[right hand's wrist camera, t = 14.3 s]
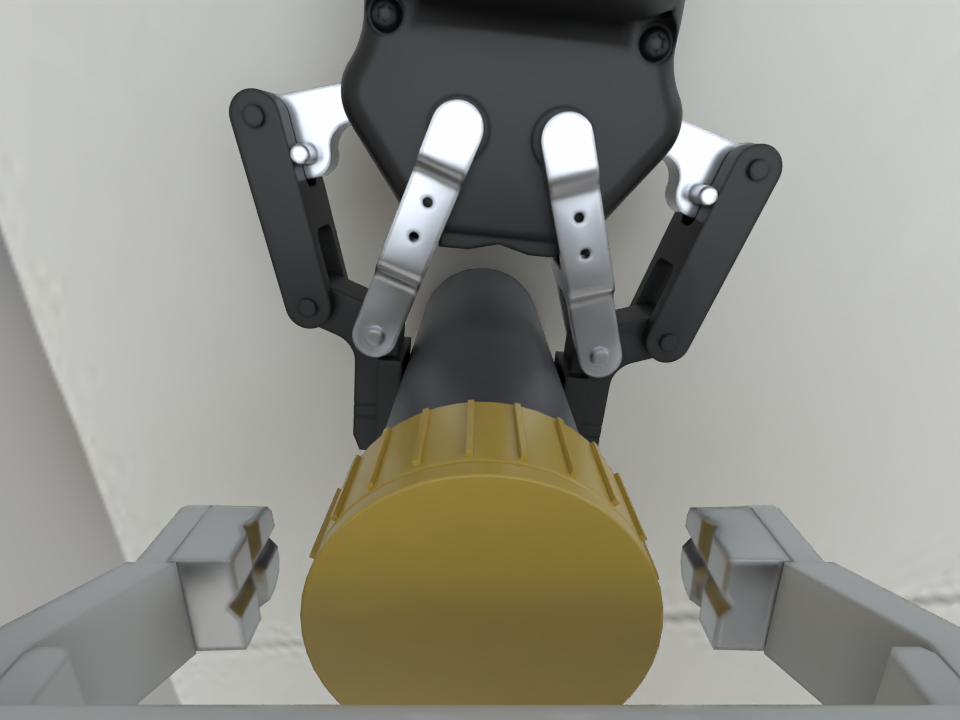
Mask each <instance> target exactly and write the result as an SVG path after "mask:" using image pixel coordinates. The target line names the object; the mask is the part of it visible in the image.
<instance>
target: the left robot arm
mask: <svg viewBox="0 0 960 720" xmlns="http://www.w3.org/2000/svg"><path fill="white" fill-rule="evenodd" d="M684 4H685V0H364V21H363V28H362V32H361V36H360V39H359V42H358V45H357V47H356V50H355V52H354V54H353V56H352V57H351V59H350V61H349V62H348V64H347V66H346V68H345V70H344V73H343V76H342V81H341V83H339V84H333V85H328V86H323V87H317V88H312V89H307V90H302V91H296V92H291V93H286V94H280V95H277V94H273V93H270V92H266V91H262V90H259V89H254V88H248V89H244V90H242V91H240V92H238V93H237V94H236V95H235V96H234V98H233V99H232V101H231V103H230V107H229V117H230V121H231V124H232V128H233V131H234V135H235V138H236V141H237V145H238V148H239V152H240V155H241V158H242V162H243V165H244V169H245V172H246V175H247V179H248V182H249V186H250V189H251V192H252V196H253V199H254V203H255V206H256V209H257V213H258V216H259V220H260V223H261V226H262V230H263V233H264V237H265V240H266V243H267V247H268V250H269V254H270V257H271V260H272V264H273V267H274V271H275V274H276V277H277V281H278V284H279V288H280V291H281V294H282V298H283V301H284V305H285V308H286V311H287V314H288V316H289V317H290V319H291V320H292V321H293V322H294V323H295V324H297V325H299V326H301V327H303V328H309V329H311V328H317V327H320V328H322V329H325V330H327V331H329V332H332V333H334V334H336V335H338V336H340V337H342V338H343V339H344V340H346V341H347V342H348V344H349V345H350V346H351V348H352V350H353V352H354V356H355V388H354V428H353V434H354V437H355V439H356V442H357V444H358V447H359V449H361V450H367V449H368V447H369V446H370V445H371V444H373V443H374V442H375V441H376V440H377V439H378V438H379V437H381V436H382V433H383V430H384V429H385V428H386V425H387V422H388V419H389V416H390V413H391V410H392V408H393V405H394V402H395V399H396V396H397V393H398V390H399V387H400V384H401V381H402V378H403V375H404V372H405V369H406V366H407V363H408V360H409V357H410V349H411V337H404V330H405V321H406V319H407V316H408V314H409V311H410V309H411V307H412V304H413V302H414V300H415V297H416V295H417V292H418V290H419V288H420V285H421V283H422V281H423V278H424V276H425V273H426V271H427V269H428V266H429V264H430V262H431V259H432V257H433V255H434V252H435V250H436V247H437V245H438V243H439V246H440V247H451V248H461V249H472V248H478V247H484V246H490V245H496V244H499V245H503V246H505V247H508V248H511V249H513V250H516V251H519V252H521V253H524V254H526V255H532V256H543V257H550V259H551V264H552V269H553V273H554V277H555V281H556V284H557V289H558V294H559V299H560V305H561V310H562V315H563V320H564V326H565V331H566V342H565V348H564V352H558V351H556V354H555V361H554V364H555V367H556V370H557V372H558V375H559V378H560V381H561V384H562V387H563V390H564V393H565V396H566V398H567V401H568V404H569V407H570V410H571V413H572V416H573V419H574V421H575V424H576V427H577V430H578V433H579V434H580V435H581V436H583V437H584V438H585V439H586V440H588V441H589V442H590V443H592V442H593V441H594V442H595V443H596V444H597V446H598V444H599V437H600V433H601V425H602V423H603V417H604V412H605V407H606V402H607V396H608V391H609V386H610V382H611V379H612V377H613V376H614V374H615V373H616V372H617V371H618V370H619V369H620V368H622V367H623V366H625V365H627V364H630V363H633V362H638V361H642V360H646V359H650V358H654V359H655V360H657V361H659V362H665V363H667V362H673V361H676V360H678V359H680V358H681V357H682V356H683V355H684V354H685V353H686V352H687V350H688V349H689V347H690V345H691V343H692V341H693V339H694V337H695V336H696V334H697V332H698V330H699V328H700V326H701V324H702V322H703V320H704V319H705V317H706V315H707V313H708V311H709V309H710V307H711V305H712V304H713V302H714V300H715V298H716V296H717V294H718V292H719V290H720V289H721V287H722V285H723V283H724V281H725V279H726V277H727V275H728V274H729V272H730V270H731V268H732V266H733V264H734V262H735V260H736V258H737V257H738V255H739V253H740V251H741V249H742V247H743V245H744V243H745V242H746V240H747V238H748V236H749V234H750V232H751V230H752V228H753V227H754V225H755V223H756V221H757V219H758V217H759V215H760V213H761V211H762V210H763V208H764V206H765V204H766V202H767V200H768V198H769V196H770V195H771V193H772V191H773V189H774V187H775V185H776V183H777V181H778V180H779V177H780V175H781V172H782V159H781V156H780V154H779V153H778V151H777V150H776V149H775V148H774V147H772V146H770V145H767V144H754V143H736V142H733V141H731V140H729V139H726V138H724V137H722V136H719V135H717V134H715V133H712V132H710V131H708V130H705V129H703V128H701V127H698V126H696V125H694V124H691V123H689V122H687V121H684V120H682V105H681V100H680V97H679V94H678V91H677V88H676V83H675V77H674V53H675V47H676V42H677V38H678V33H679V29H680V24H681V19H682V14H683V9H684ZM351 125H352V127H353V128H354V130H355V132H356V133H357V135H358V136H359V138H360V140H361V141H362V143H363V145H364V146H365V148H366V149H367V151H368V153H369V154H370V156H371V158H372V159H373V161H374V163H375V164H376V166H377V167H378V169H379V171H380V172H381V174H382V176H383V177H384V179H385V180H386V182H387V184H388V185H389V187H390V189H391V190H392V192H393V193H394V195H395V197H396V198H397V200H398V202H399V203H400V205H399V207H398V210H397V213H396V215H395V218H394V220H393V223H392V225H391V228H390V231H389V233H388V236H387V238H386V241H385V243H384V246H383V249H382V251H381V254H380V256H379V259H378V262H377V265H376V269H375V274H374V276H373V279H372V282H371V284H370V287H369V289H368V288H366V287H364V286H362V285H360V284H357V283H355V282H353V281H351V280H349V279H348V276H347V272H346V268H345V264H344V260H343V256H342V252H341V248H340V244H339V240H338V236H337V232H336V228H335V225H334V221H333V217H332V213H331V209H330V205H329V201H328V197H327V193H326V189H325V185H324V181H323V176H326V175H328V174H330V173H331V172H333V170H334V169H335V168H336V166H337V164H338V160H339V150H338V143H339V139H340V136H341V134H342V133H343V132H344V130H345V129H346V128H348V127H349V126H351ZM662 159H663V161H664V162H665V163H666V165H667V168H668V171H669V179H668V184H667V187H666V191H665V197H666V201H667V204H668V205H669V207H670V208H671V209H672V210H673V211H675V213H674V215H673V217H672V219H671V221H670V224H669V226H668V228H667V230H666V232H665V234H664V236H663V238H662V240H661V242H660V244H659V246H658V248H657V251H656V253H655V255H654V257H653V259H652V261H651V263H650V265H649V267H648V269H647V271H646V273H645V275H644V278H643V280H642V282H641V284H640V286H639V288H638V290H637V292H636V294H635V296H634V298H633V300H632V302H631V304H630V307H626V308H622V309H618V310H615V305H614V298H613V293H614V290H615V284H614V276H613V270H612V263H611V257H610V250H609V244H608V237H607V231H606V224H605V220H606V219H607V218H608V217H609V215H610V214H611V213H612V212H613V211H614V210H615V209H616V208H617V207H618V206H619V205H620V204H621V203H622V202H623V201H624V199H625V198H626V197H627V196H628V195H629V194H630V193H631V192H632V191H633V190H634V189H635V188H636V187H637V186H638V185H639V183H640V182H641V181H642V180H643V179H644V178H645V177H646V176H647V175H648V174H649V173H650V172H651V171H652V170H653V169H654V167H655V166H656V165H657V164H658V163H659V162H660V161H661V160H662Z"/></svg>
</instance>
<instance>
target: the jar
mask: <svg viewBox="0 0 960 720" xmlns="http://www.w3.org/2000/svg"><path fill="white" fill-rule="evenodd" d="M468 400H474V402H497V403H504V404H510V405H514V403H519V404H521V407H524V408H528V409H531V410H535V411H538V412H540V413H543V414H545V415H548V416H550V417H552V418H555V419H557V417H559V418H561V419H563V421H564V424H565V425H567V426H569V427H570V428H572V429H574V430H575V431H576V432H577V433H578V430H577V427H576V424H575V421H574V419H573V416H572V413H571V410H570V407H569V404H568V401H567V398H566V396H565V393H564V390H563V387H562V384H561V381H560V378H559V375H558V372H557V370H556V367H555V364H554V361H553V358H552V355H551V352H550V349H549V346H548V344H547V341H546V338H545V335H544V332H543V329H542V326H541V323H540V320H539V318H538V315H537V312H536V309H535V306H534V303H533V301H532V299H531V297H530V295H529V294H528V292H527V291H526V290H525V288H524V287H523V286H522V285H521V284H520V283H519V282H517V281H516V280H515V279H513V278H512V277H510V276H508V275H506V274H504V273H502V272H499V271H496V270H491V269H471V270H466V271H463V272H460V273H457V274H455V275H453V276H451V277H450V278H448V279H447V280H446V281H444V282H443V283H442V284H441V285H440V286H439V287H438V288H437V289H436V290H435V292H434V293H433V295H432V296H431V298H430V300H429V302H428V305H427V307H426V310H425V313H424V316H423V319H422V322H421V325H420V328H419V331H418V334H417V337H416V340H415V343H414V346H413V349H412V352H411V355H410V357H409V360H408V363H407V366H406V369H405V372H404V375H403V378H402V381H401V384H400V387H399V390H398V393H397V396H396V399H395V402H394V405H393V408H392V410H391V413H390V416H389V419H388V422H387V425H386V428H387V427H389V428H390V429H392V428H393V427H395V426H396V425H398V424H399V423H401V422H403V421H405V420H407V419H409V418H411V417H413V416H415V415H417V414H420V413H422V411H423V409H426V408H429V410H432V409H435V408H438V407H443V406H448V405H452V404H458V403H468Z"/></svg>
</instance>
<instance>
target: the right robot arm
mask: <svg viewBox="0 0 960 720" xmlns="http://www.w3.org/2000/svg"><path fill="white" fill-rule="evenodd" d="M274 527H275V525H274V520H273V515H272V511H271V510H270V509H269V508H268V507H262V506H212V505H188V506H185V507H182V508H181V509H180V510H179V511H178V512H177V513H176V515H175V516H174V517H173V518H172V519H171V521H170V522H169V523H168V524H167V525H166V526H165V528H164V529H163V530H162V531H161V532H160V534H159V535H158V536H157V537H156V538H155V540H154V541H153V542H152V543H151V544H150V545H149V547H148V548H147V549H146V550H145V551H144V553H143V554H142V555H141V556H140V557H139V558H138V560H137V561H136V562H126V563H124V564H122V565H120V566H118V567H116V568H115V569H113V570H111V571H109V572H107V573H105V574H103V575H101V576H99V577H97V578H95V579H93V580H91V581H89V582H87V583H85V584H83V585H81V586H79V587H78V588H76V589H74V590H72V591H70V592H68V593H66V594H64V595H62V596H60V597H58V598H56V599H54V600H52V601H50V602H48V603H46V604H44V605H42V606H41V607H39V608H37V609H35V610H33V611H31V612H29V613H27V614H25V615H23V616H21V617H19V618H17V619H15V620H13V621H11V622H9V623H8V624H6V625H4V626H2V627H0V720H960V627H958V626H956V625H954V624H952V623H950V622H948V621H946V620H944V619H942V618H941V617H939V616H937V615H935V614H933V613H931V612H929V611H927V610H925V609H923V608H921V607H919V606H917V605H915V604H913V603H911V602H910V601H908V600H906V599H904V598H902V597H900V596H898V595H896V594H894V593H892V592H890V591H888V590H886V589H884V588H882V587H880V586H878V585H877V584H875V583H873V582H871V581H869V580H867V579H865V578H863V577H861V576H859V575H857V574H855V573H853V572H851V571H849V570H847V569H846V568H844V567H842V566H840V565H838V564H836V563H834V562H824V561H823V560H822V558H821V557H820V556H819V555H818V554H817V553H816V551H815V550H814V549H813V548H812V547H811V545H810V544H809V543H808V542H807V541H806V540H805V538H804V537H803V536H802V535H801V534H800V532H799V531H798V530H797V529H796V528H795V527H794V525H793V524H792V523H791V522H790V521H789V519H788V518H787V517H786V516H785V515H784V514H783V512H782V511H781V510H780V509H779V508H778V507H776V506H773V505H758V506H743V507H690V510H689V512H688V514H687V519H686V525H685V527H686V529H687V530H688V532H689V534H690V536H691V538H690V539H689V540H688V541H687V542H686V543H685V544H684V545H683V546H682V554H681V572H682V579H683V583H684V587H685V590H686V592H687V594H688V596H689V599H690V600H691V601H693V602H694V603H695V604H697V605H698V606H699V607H701V609H700V615H699V620H700V622H701V624H702V626H703V629H704V631H705V633H706V635H707V637H708V639H709V641H710V643H711V645H712V647H713V649H714V650H750V651H764V654H765V655H767V656H768V657H769V658H770V659H771V660H772V661H774V662H775V663H776V664H777V665H778V666H779V667H780V668H782V669H783V670H784V671H785V672H786V673H787V674H789V675H790V676H791V677H792V678H793V679H794V680H796V681H797V682H798V683H799V684H800V685H801V686H803V687H804V688H805V689H806V690H807V691H808V692H809V693H811V694H812V695H813V696H814V697H815V698H816V699H818V700H819V701H820V702H821V703H822V704H823V705H137V704H138V703H139V702H140V701H141V700H143V699H144V698H145V697H146V696H147V695H148V694H150V693H151V692H152V691H153V690H154V689H155V688H156V687H158V686H159V685H160V684H161V683H162V682H163V681H165V680H166V679H167V678H168V677H169V676H170V675H172V674H173V673H174V672H175V671H176V670H177V669H179V668H180V667H181V666H182V665H183V664H184V663H186V662H187V661H188V660H189V659H190V658H191V657H193V656H194V655H195V654H196V651H210V650H244V649H247V648H248V645H249V643H250V641H251V639H252V637H253V635H254V633H255V631H256V629H257V626H258V624H259V622H260V620H261V615H260V609H259V607H261V606H262V605H263V604H265V603H266V602H267V601H269V600H270V599H271V596H272V594H273V592H274V590H275V587H276V583H277V578H278V573H279V553H278V546H277V545H276V544H275V543H274V542H273V541H272V540H271V539H270V538H269V536H270V534H271V532H272V530H273V529H274Z"/></svg>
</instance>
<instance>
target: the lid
mask: <svg viewBox="0 0 960 720" xmlns="http://www.w3.org/2000/svg"><path fill="white" fill-rule="evenodd" d="M645 540H647V538H646V536H645V533H644V531H643V529H642V526H641V524H640V522H639V519H638V517H637V515H636V512H635V510H634V508H633V505H632V503H631V501H630V498H629V496H628V494H627V491H626V489H625V486H624V484H623V482H622V479H621V477H620V475H619V473H616V474H613V472H612V470H611V468H610V466H609V465H608V464H607V462H606V461H605V459H604V458H603V457H602V455H601V453H600V451H599V448H598V446H597V444H596V443H595V442H594V441H593V442H592V443H590V442H589V441H588V440H586V439H585V438H584V437H583V436H581V435H580V434H579V433H577V432H576V431H575V430H574V429H572V428H570V427H569V426H567V425H565V424H564V421H563V419H561V418H559V417H557V419H555V418H552V417H550V416H548V415H545V414H543V413H540V412H538V411H535V410H531V409H528V408H524V407H521V404H519V403H514V405H510V404H504V403H497V402H474V400H468V403H458V404H452V405H448V406H443V407H438V408H435V409H432V410H429V408H426V409H423V411H422V413H420V414H417V415H415V416H413V417H411V418H409V419H407V420H405V421H403V422H401V423H399V424H398V425H396V426H395V427H393V428H392V429H390V428H389V427H387V428H385V429H384V430H383V433H382V436H381V437H379V438H378V439H377V440H376V441H375V442H374V443H373V444H371V445H370V446H369V447H368V449H367V450H366V451H365V452H364V453H363V454H362V456H361V457H360V456H359V455H356V457H355V458H354V460H353V462H352V465H351V467H350V470H349V472H348V475H347V477H346V479H345V482H344V484H343V487H342V489H339V488H338V489H337V491H336V494H335V496H334V498H333V501H332V503H331V506H330V508H329V510H328V513H327V515H326V517H325V520H324V522H323V525H322V527H321V529H320V532H319V534H318V536H317V539H316V541H315V544H314V546H313V548H312V551H311V553H310V556H309V557H310V558H313V559H314V561H313V563H312V565H311V568H310V570H309V573H308V575H307V578H306V582H305V585H304V589H303V593H302V600H301V612H300V618H301V629H302V636H303V640H304V644H305V648H306V652H307V655H308V657H309V659H310V661H311V664H312V666H313V668H314V670H315V672H316V674H317V675H318V677H319V678H320V680H321V682H322V683H323V685H324V686H325V687H326V689H327V690H328V691H329V692H330V693H331V695H332V696H333V697H334V698H335V699H336V701H338V702H339V703H340V704H341V705H623V704H624V703H625V702H626V701H627V700H628V699H629V698H630V696H631V695H632V694H633V693H634V692H635V690H636V689H637V688H638V686H639V685H640V684H641V682H642V681H643V680H644V678H645V676H646V674H647V673H648V671H649V669H650V667H651V665H652V663H653V661H654V658H655V655H656V653H657V650H658V647H659V643H660V638H661V633H662V627H663V603H662V596H661V590H660V586H659V583H658V580H659V577H658V573H657V570H656V568H655V566H654V563H653V561H652V558H651V556H650V554H649V551H648V549H647V546H646V544H645V542H644V541H645Z"/></svg>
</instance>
